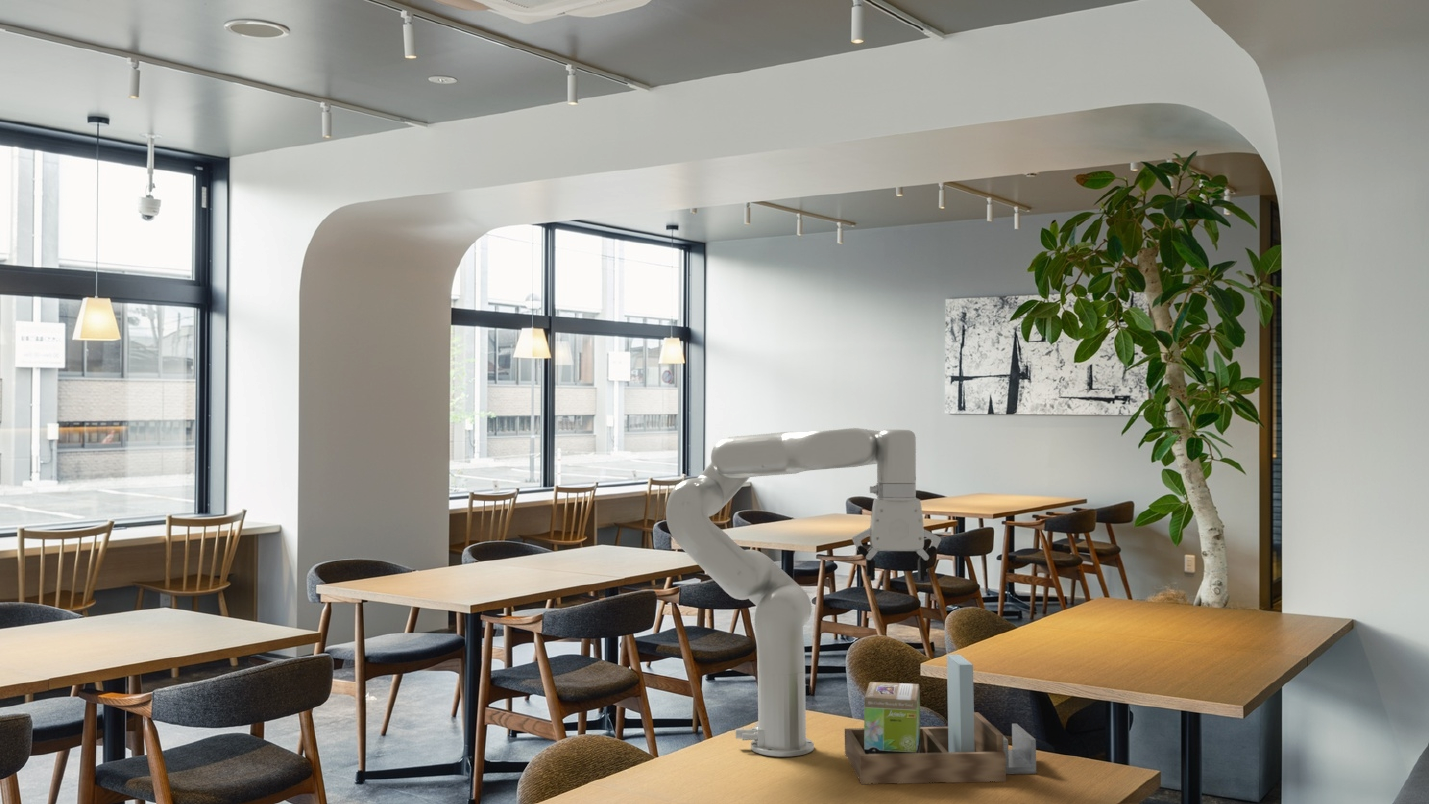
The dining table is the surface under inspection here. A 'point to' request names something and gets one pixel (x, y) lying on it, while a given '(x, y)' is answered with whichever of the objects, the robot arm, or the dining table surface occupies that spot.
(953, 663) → the rectangular block
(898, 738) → the tea box
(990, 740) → the divided tray
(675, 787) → the dining table surface
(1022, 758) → the stand
